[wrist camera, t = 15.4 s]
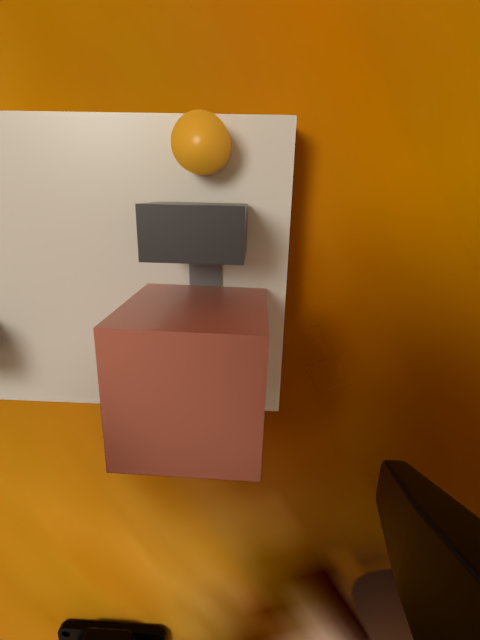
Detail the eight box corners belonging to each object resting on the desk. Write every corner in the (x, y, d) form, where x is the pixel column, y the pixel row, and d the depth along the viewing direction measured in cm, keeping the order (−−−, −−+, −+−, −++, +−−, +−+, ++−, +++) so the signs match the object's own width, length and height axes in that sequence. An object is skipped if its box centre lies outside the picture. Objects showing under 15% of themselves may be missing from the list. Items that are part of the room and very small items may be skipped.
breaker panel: (276, 387, 18) (280, 428, 15) (-58, 374, 18) (-120, 410, 15) (291, 125, 14) (300, 107, 11) (-121, 118, 15) (-218, 99, 12)
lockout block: (259, 393, 16) (260, 481, 11) (152, 388, 16) (106, 472, 11) (265, 288, 14) (269, 336, 9) (148, 283, 14) (93, 327, 10)
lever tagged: (246, 250, 14) (243, 265, 11) (163, 248, 14) (138, 262, 11) (248, 203, 13) (245, 206, 10) (161, 201, 13) (134, 203, 10)
